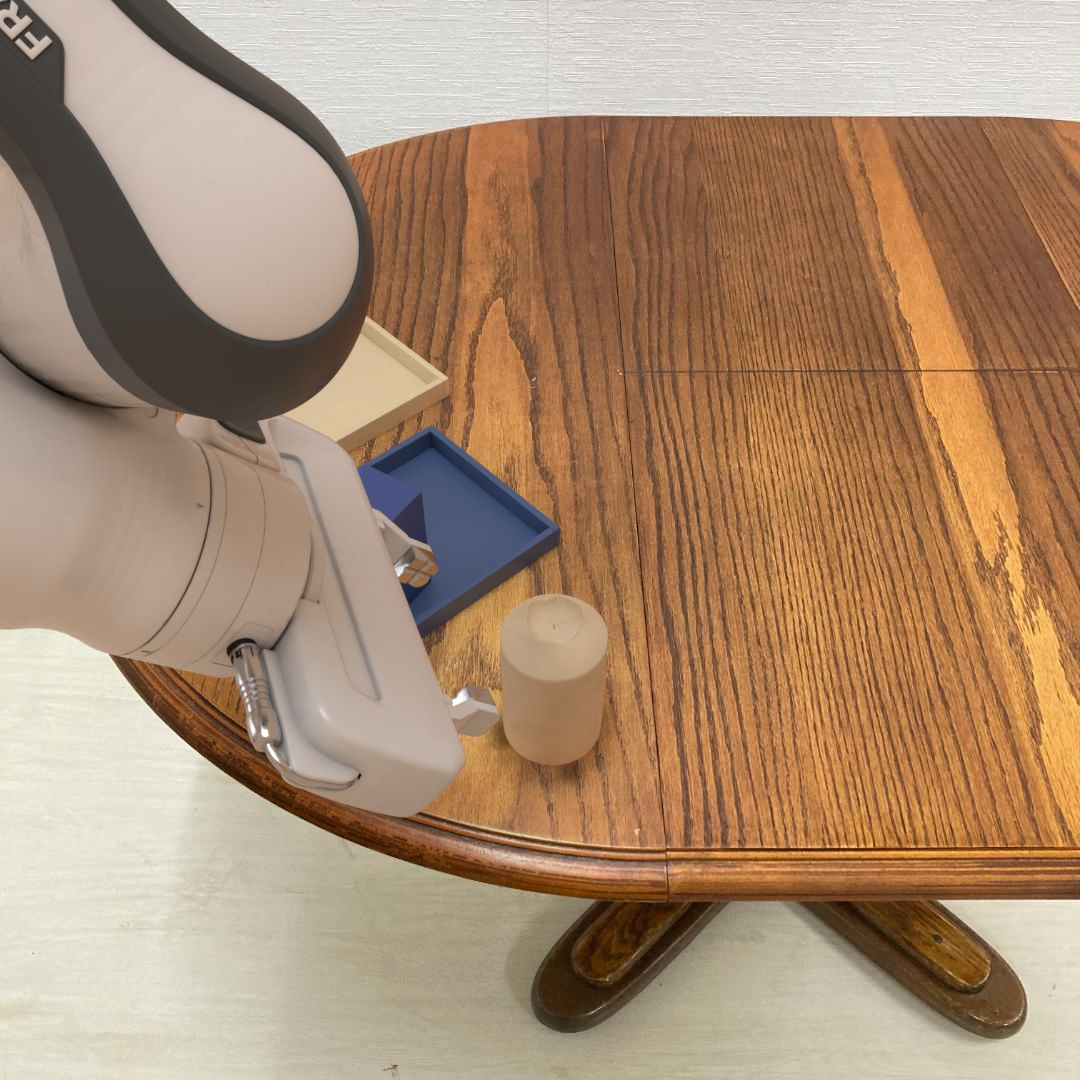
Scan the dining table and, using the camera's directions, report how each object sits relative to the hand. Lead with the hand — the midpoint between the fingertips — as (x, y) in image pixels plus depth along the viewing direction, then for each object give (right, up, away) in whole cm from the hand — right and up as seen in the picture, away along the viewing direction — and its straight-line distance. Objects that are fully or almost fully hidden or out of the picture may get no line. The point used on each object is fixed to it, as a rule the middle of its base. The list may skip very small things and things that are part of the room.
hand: (455, 637), depth 54 cm
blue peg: (-5, +2, +14) cm, 15 cm away
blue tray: (-4, +4, +17) cm, 18 cm away
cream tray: (-12, +15, +27) cm, 33 cm away
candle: (+5, -6, +8) cm, 11 cm away
